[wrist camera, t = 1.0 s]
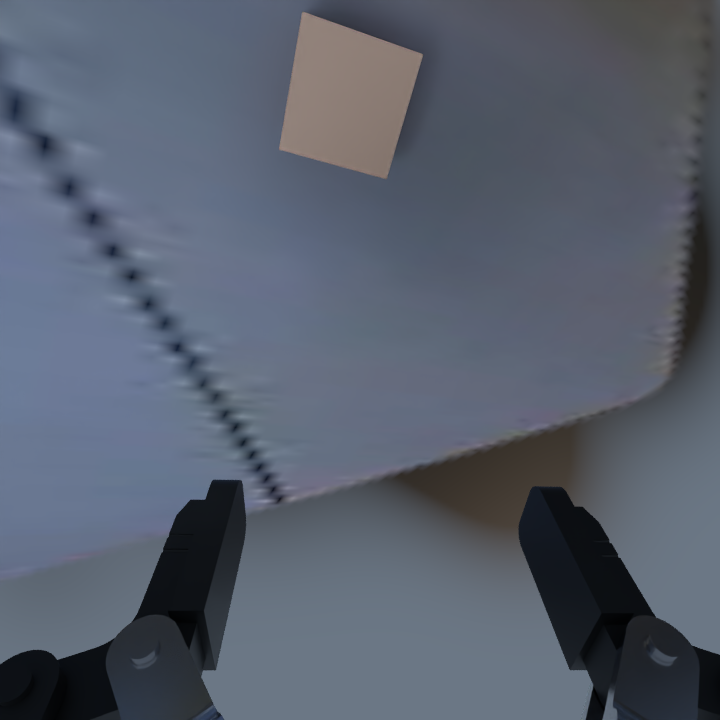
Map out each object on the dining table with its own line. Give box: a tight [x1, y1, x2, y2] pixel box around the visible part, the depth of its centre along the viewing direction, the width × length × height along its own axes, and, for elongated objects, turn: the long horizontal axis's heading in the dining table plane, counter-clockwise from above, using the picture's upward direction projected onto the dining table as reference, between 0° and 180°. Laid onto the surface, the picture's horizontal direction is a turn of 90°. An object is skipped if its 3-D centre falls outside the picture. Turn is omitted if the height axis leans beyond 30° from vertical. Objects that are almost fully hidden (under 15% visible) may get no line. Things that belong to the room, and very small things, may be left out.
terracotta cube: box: [279, 12, 423, 179], centre depth 23 cm, size 6×6×6 cm
